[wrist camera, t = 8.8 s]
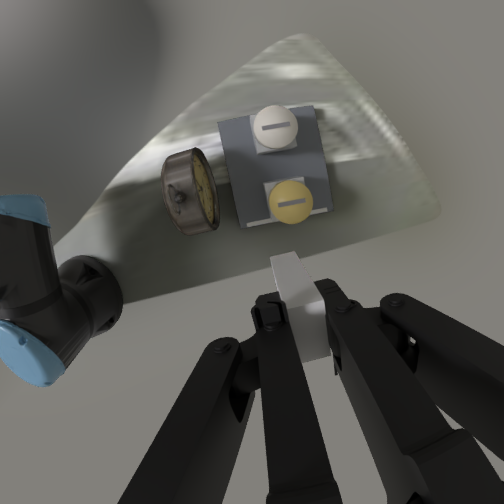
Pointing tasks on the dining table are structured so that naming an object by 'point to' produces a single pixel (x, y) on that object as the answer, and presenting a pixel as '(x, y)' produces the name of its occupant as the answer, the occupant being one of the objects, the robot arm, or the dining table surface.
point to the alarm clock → (190, 192)
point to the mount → (273, 166)
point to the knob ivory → (275, 127)
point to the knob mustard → (290, 201)
